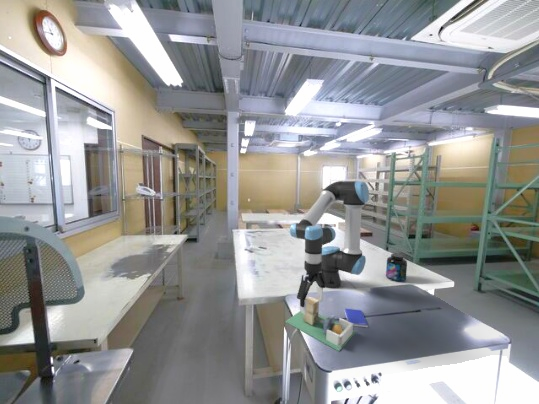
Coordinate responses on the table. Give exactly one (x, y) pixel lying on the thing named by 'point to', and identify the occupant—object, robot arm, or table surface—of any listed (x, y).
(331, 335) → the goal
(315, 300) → the rod slider
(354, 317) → the blue flat square slab
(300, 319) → the pitch mat
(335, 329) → the ball
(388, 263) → the container
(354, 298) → the table surface
